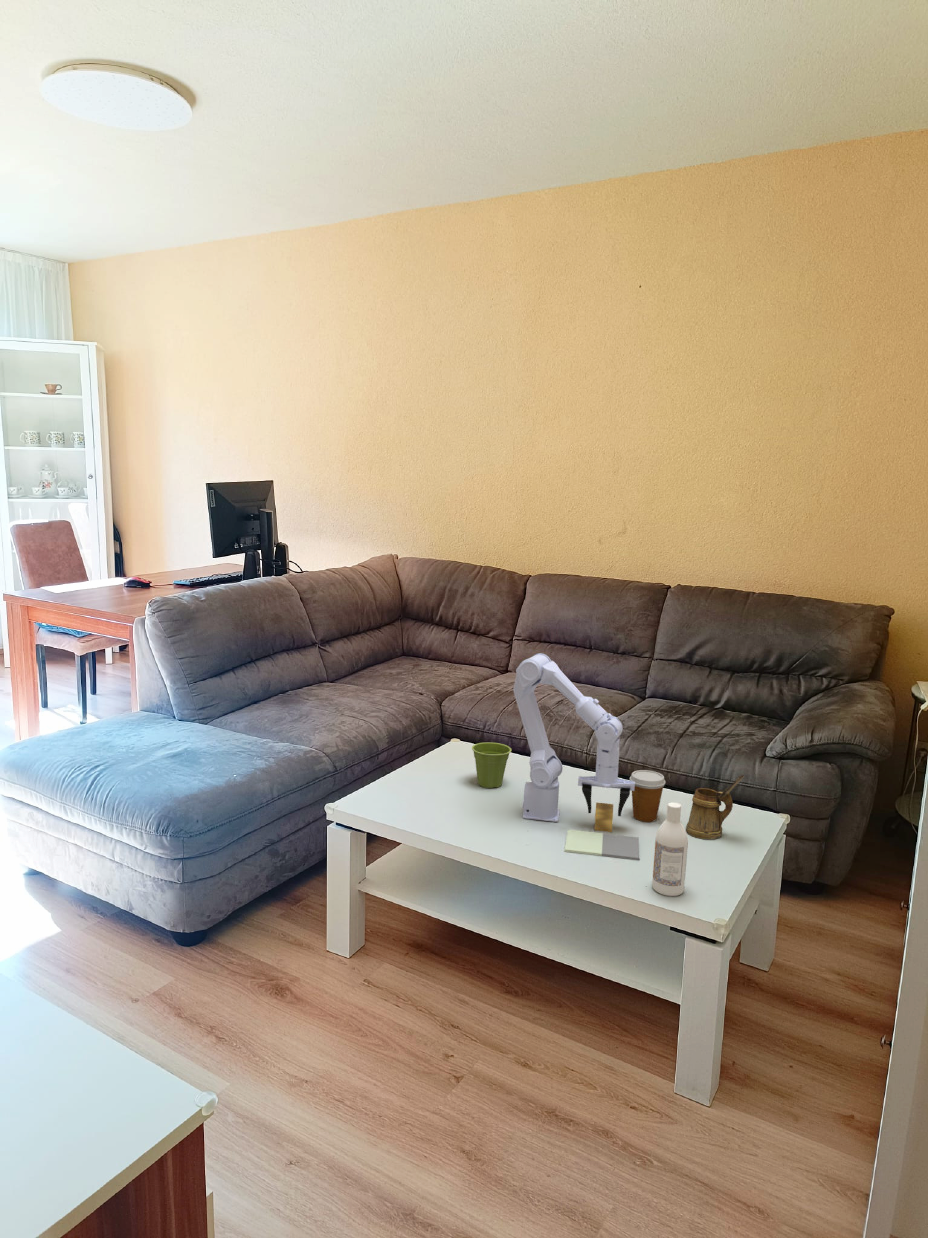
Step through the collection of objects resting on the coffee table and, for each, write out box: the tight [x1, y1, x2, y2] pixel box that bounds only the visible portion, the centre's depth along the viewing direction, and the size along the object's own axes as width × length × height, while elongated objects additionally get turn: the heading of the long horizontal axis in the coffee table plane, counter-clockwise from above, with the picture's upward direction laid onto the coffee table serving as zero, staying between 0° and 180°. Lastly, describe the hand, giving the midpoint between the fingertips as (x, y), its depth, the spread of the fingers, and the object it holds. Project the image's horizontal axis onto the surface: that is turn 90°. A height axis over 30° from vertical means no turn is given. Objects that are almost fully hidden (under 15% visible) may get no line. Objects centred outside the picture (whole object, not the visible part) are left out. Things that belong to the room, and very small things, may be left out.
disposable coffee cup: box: [629, 769, 666, 823], centre depth 218 cm, size 10×10×12 cm
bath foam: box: [651, 802, 689, 897], centre depth 178 cm, size 7×7×20 cm
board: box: [564, 829, 640, 861], centre depth 201 cm, size 18×12×1 cm, turn 79°
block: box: [593, 802, 614, 833], centre depth 211 cm, size 4×4×6 cm
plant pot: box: [471, 741, 512, 789], centre depth 239 cm, size 12×12×11 cm
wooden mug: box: [685, 774, 745, 841], centre depth 208 cm, size 9×14×18 cm, turn 55°
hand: (604, 813), depth 211 cm, fingers open, 7 cm apart
